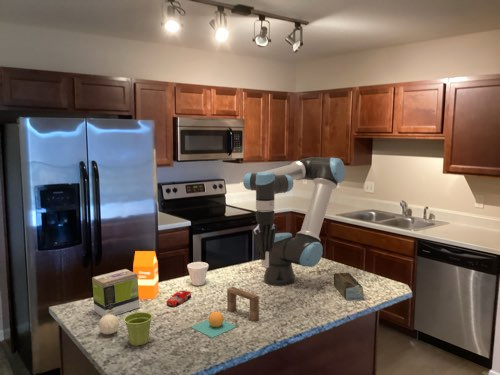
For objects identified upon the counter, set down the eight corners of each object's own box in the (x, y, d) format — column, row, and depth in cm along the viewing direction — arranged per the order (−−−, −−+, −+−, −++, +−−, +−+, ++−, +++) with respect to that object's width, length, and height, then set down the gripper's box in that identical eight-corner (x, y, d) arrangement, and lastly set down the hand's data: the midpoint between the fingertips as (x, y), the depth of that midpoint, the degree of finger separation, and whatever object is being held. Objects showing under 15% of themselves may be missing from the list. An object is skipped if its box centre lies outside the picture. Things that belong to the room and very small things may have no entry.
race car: (174, 309, 173) (174, 299, 172) (164, 306, 175) (163, 297, 175) (193, 298, 184) (193, 289, 184) (183, 295, 187) (183, 287, 186)
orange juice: (139, 292, 191) (137, 248, 188) (158, 292, 190) (157, 248, 188) (134, 298, 183) (132, 253, 180) (154, 298, 183) (152, 253, 180)
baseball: (103, 340, 146) (102, 321, 145) (96, 332, 152) (96, 314, 151) (122, 334, 150) (121, 316, 149) (115, 327, 156) (114, 309, 155)
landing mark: (215, 317, 164) (215, 316, 164) (236, 326, 156) (236, 326, 156) (190, 327, 155) (190, 326, 155) (212, 338, 147) (212, 337, 147)
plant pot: (118, 345, 142) (117, 321, 141) (136, 333, 151) (135, 310, 150) (142, 350, 139) (141, 325, 137) (158, 338, 147) (157, 314, 146)
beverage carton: (345, 301, 180) (345, 286, 179) (332, 285, 199) (332, 272, 198) (363, 300, 181) (363, 285, 180) (349, 285, 200) (349, 271, 199)
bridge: (232, 308, 172) (232, 286, 171) (258, 319, 162) (258, 295, 161) (227, 310, 170) (227, 288, 169) (253, 321, 160) (253, 298, 159)
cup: (183, 286, 198) (183, 266, 197) (193, 279, 207) (193, 261, 206) (203, 288, 195) (202, 269, 193) (212, 281, 204) (212, 263, 203)
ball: (204, 325, 155) (215, 324, 159) (214, 329, 151) (225, 328, 155) (207, 310, 156) (217, 309, 160) (217, 314, 152) (227, 313, 156)
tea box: (127, 301, 180) (126, 267, 178) (139, 308, 173) (138, 273, 171) (93, 311, 169) (91, 276, 168) (104, 319, 162) (103, 282, 160)
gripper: (261, 213, 163) (261, 272, 166) (282, 209, 173) (282, 265, 175) (247, 211, 168) (247, 268, 171) (268, 207, 178) (268, 261, 181)
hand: (265, 266), depth 173 cm, fingers closed
